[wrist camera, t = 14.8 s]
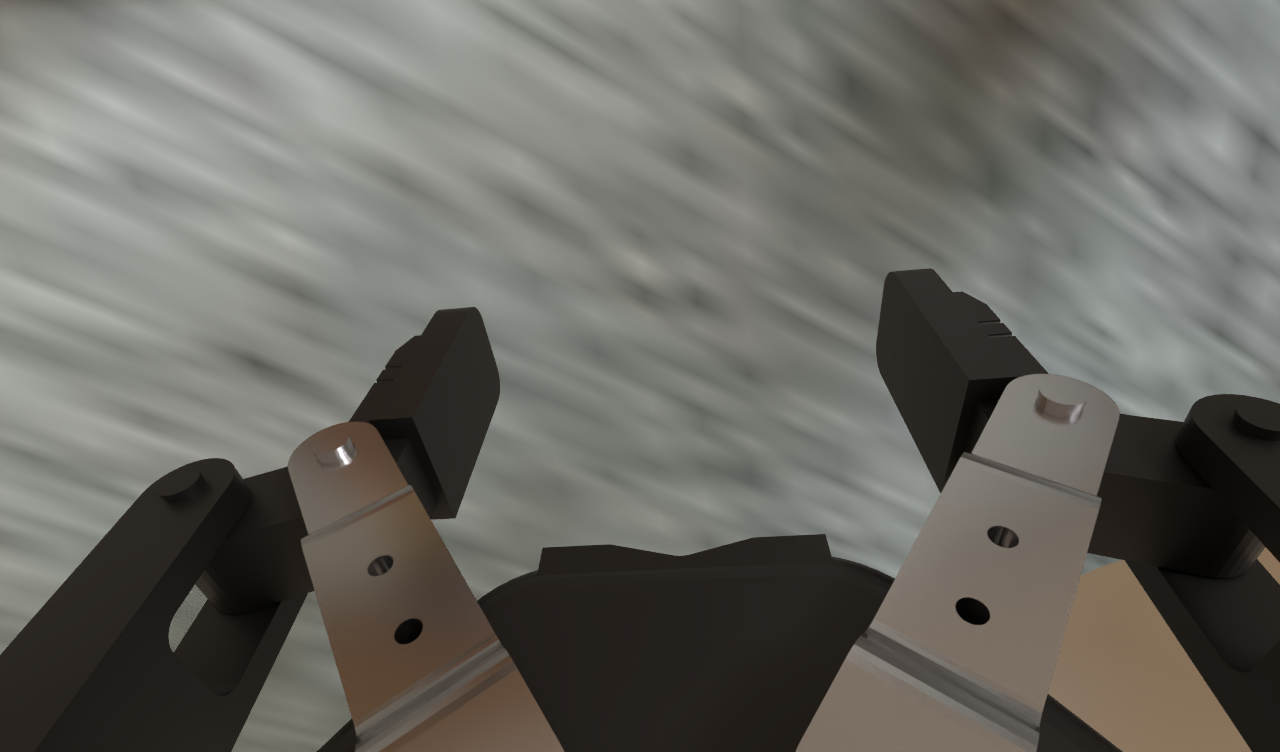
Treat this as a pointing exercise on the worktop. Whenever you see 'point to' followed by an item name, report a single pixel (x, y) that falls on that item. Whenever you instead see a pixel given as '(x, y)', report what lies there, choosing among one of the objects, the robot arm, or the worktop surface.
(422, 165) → the worktop surface
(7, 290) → the worktop surface
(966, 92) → the worktop surface
